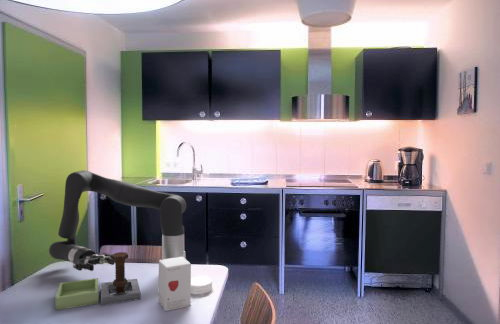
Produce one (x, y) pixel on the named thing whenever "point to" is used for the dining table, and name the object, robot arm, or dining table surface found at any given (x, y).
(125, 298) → the square frame
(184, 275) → the supplement box
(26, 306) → the dining table surface
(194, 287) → the white round disc
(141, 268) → the dining table surface
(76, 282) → the tray
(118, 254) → the bolt
